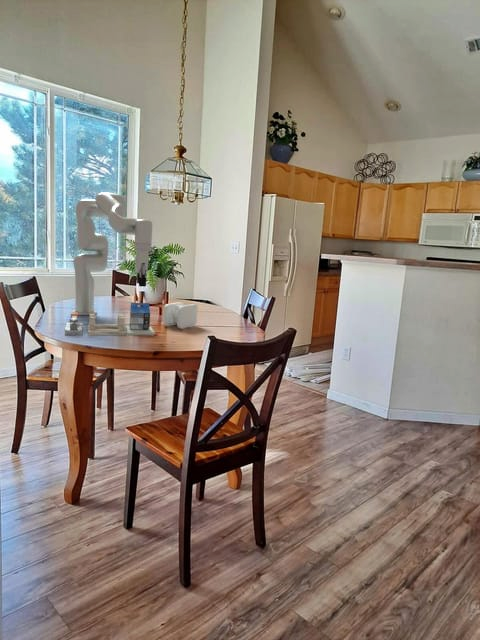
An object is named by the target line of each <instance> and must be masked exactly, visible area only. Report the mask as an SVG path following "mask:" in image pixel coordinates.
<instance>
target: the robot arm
mask: <svg viewBox="0 0 480 640" xmlns="http://www.w3.org/2000/svg"><path fill="white" fill-rule="evenodd" d="M125 214H126V200H125V197H124V196H123V195H122V194H119V193H113V192H100V193H98V194H97V195H96V196H95V199H92V198H90V199H89V198H84V199H79V201H78V202H77V203H76V204H75V218H76V222H77V223H76V224H77V234H76V235H77V236H76V237H77V238H76V241H77V243H76V244H77V248H78V250H80V251H82V252H95V253H80V254H76V256H74V257H73V268H74V278H75V283H74V284H75V286H74V287H75V291H74V309H72V311H71V312H73V313H79V315H78V316H90V314H95V315H96V314H98V313H97V312H98V311H97V310H95V280H94V279H95V278H94V277H93V275H92V273H101V272H105V271H106V269H107V268H108V260H109V258H108V257H109V255H108V254H109V241H108V238H107V236H106V235H104V234H102V233H97V232H95V231H96V230H95V229H96V226H95V222H94V220H93V219H92V217H93V218H104V219H107V220H108V224H109V226H110V227H111V228H112V229H113V230H114V232H116V233H118V234H120V235H130V236H134V247H133V248H134V249H133V250H134V251H135V264H134V271H135V272H136V273H137V274H136V284H138V287H146V286H147V273H148V272H149V271H148V270H149V252H152V240H153V238H152V237H153V222H152V221H151V220H150V219H149V220H148V219H141V218H135V217H134V218H133V217H124V216H125ZM146 288H147V287H146Z"/></svg>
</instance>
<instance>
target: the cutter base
mask: <svg viewBox="0 0 480 640" xmlns="http://www.w3.org/2000/svg"><path fill="white" fill-rule="evenodd" d="M83 326H84V323H83V322H78V323H75V324H73V323H70V322H66V323H65V328H64V335H65V336H67V335H70V336H71V335H72V336H73V335H74V336H77V335H78V336H82V335H83V329H84V328H83Z"/></svg>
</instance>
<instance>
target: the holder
mask: <svg viewBox="0 0 480 640" xmlns="http://www.w3.org/2000/svg"><path fill="white" fill-rule="evenodd" d="M88 321H89V323H88V324H87V327H88V328H87V330H88V331H87V335H88V336H126V335H127V331H126V327H125V315H124V314H117V323H96V314H90V315H89V320H88Z"/></svg>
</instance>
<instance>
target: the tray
mask: <svg viewBox="0 0 480 640" xmlns="http://www.w3.org/2000/svg"><path fill="white" fill-rule="evenodd" d="M125 331H126V335H128V336H129V335H130V336H131V335H134V336H135V335H137V336H139V335H140V336H141V335H142V336H143V335H145V336H147V335H149V336H154V335H155V334H156V333H155V331H154V329H153V328H152V326H151V325H150V327H149V330H130V325H125Z"/></svg>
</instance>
